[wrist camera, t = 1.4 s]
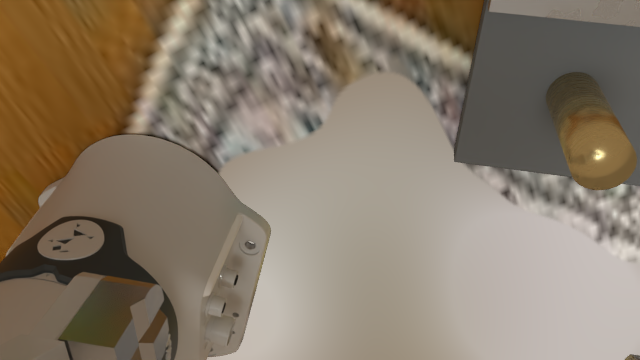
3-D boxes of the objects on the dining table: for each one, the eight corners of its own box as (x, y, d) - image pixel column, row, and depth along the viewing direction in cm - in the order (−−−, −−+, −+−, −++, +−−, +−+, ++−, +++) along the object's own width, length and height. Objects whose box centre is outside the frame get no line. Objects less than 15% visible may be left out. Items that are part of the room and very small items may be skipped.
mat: (639, 174, 39) (646, 186, 38) (454, 150, 41) (454, 161, 39) (783, -183, 28) (799, -182, 27) (524, -199, 30) (528, -199, 29)
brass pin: (591, 121, 36) (625, 193, 30) (540, 115, 37) (562, 185, 30) (606, 75, 35) (646, 140, 28) (553, 69, 35) (579, 132, 28)
